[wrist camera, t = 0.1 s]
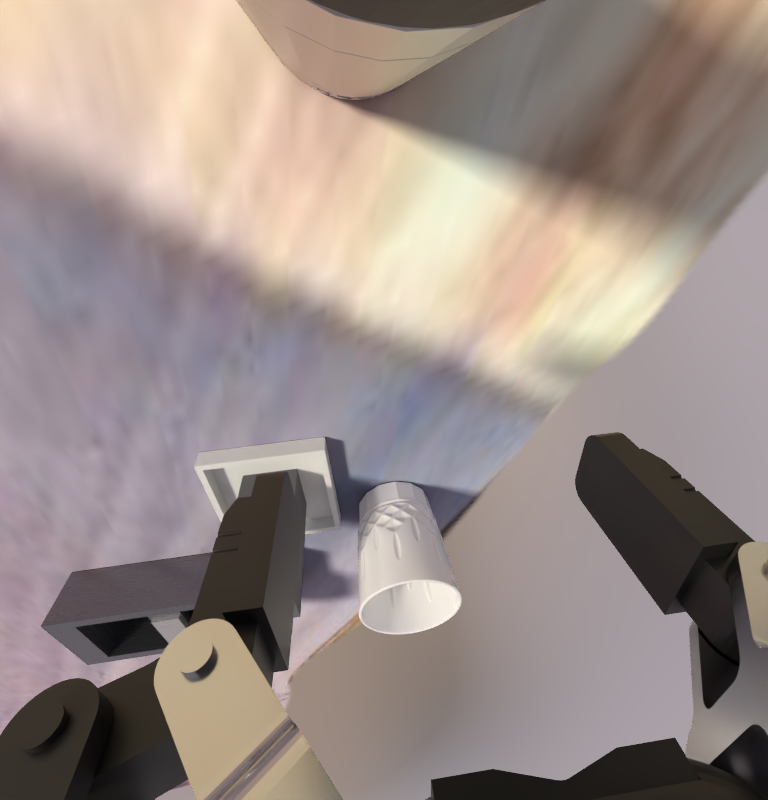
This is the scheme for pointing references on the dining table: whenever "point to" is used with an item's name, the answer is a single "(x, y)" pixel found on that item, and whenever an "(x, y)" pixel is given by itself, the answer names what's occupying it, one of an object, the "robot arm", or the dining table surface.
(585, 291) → the dining table surface
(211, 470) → the tray
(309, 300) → the dining table surface
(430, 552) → the white cup
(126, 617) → the strip
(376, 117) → the dining table surface
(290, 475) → the plug
